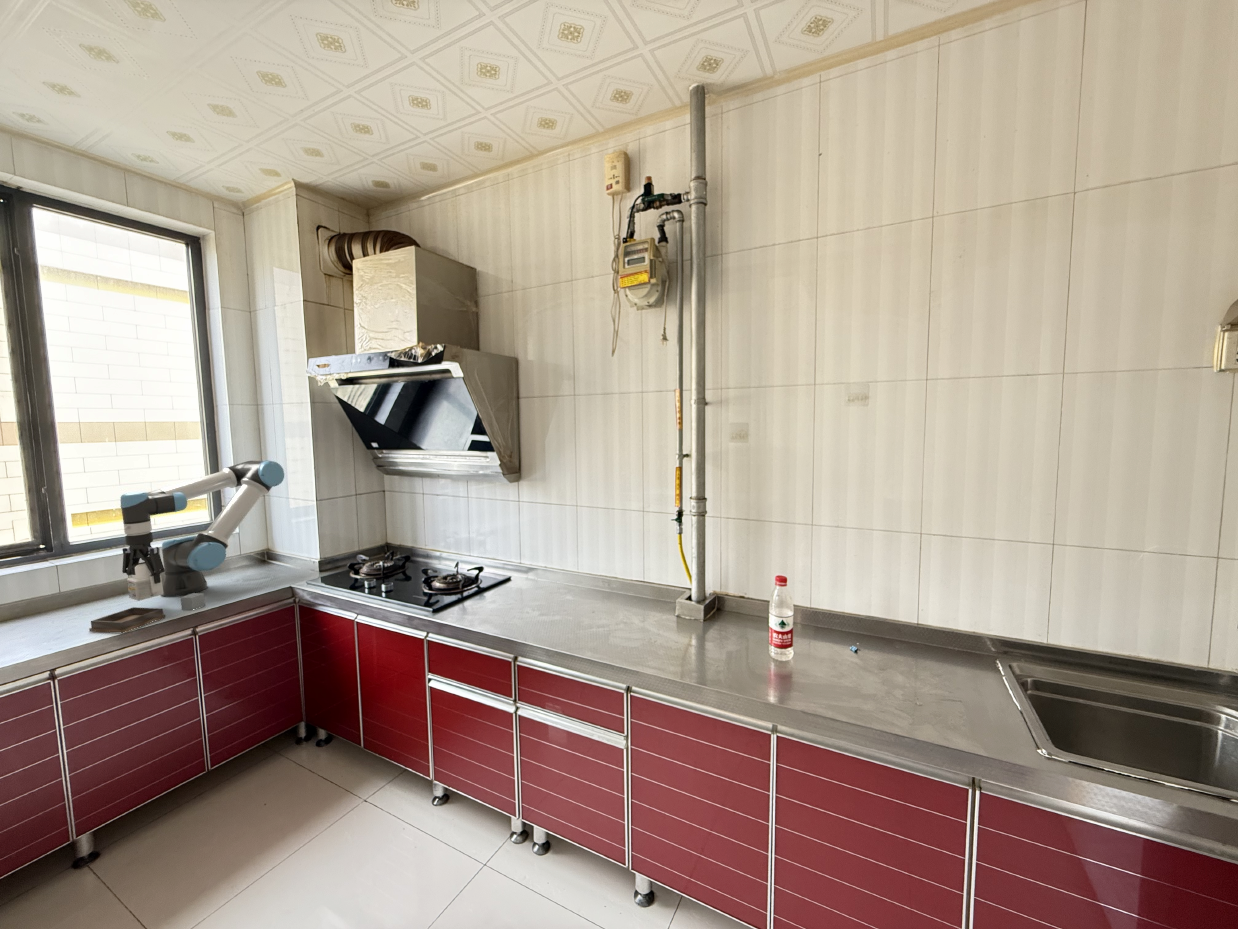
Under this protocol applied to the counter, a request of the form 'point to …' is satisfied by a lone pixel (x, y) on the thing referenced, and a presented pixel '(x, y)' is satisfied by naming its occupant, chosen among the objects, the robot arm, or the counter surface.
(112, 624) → the tray
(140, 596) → the container
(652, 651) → the counter surface
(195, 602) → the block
